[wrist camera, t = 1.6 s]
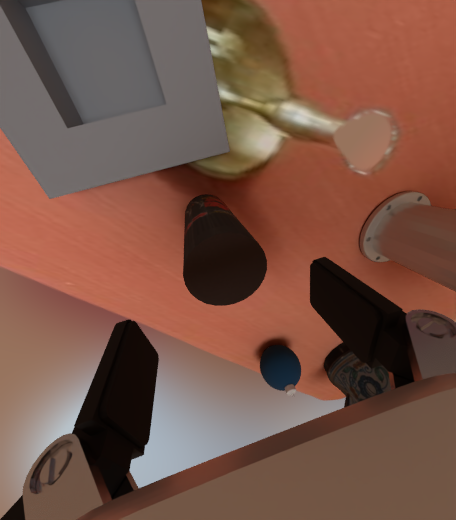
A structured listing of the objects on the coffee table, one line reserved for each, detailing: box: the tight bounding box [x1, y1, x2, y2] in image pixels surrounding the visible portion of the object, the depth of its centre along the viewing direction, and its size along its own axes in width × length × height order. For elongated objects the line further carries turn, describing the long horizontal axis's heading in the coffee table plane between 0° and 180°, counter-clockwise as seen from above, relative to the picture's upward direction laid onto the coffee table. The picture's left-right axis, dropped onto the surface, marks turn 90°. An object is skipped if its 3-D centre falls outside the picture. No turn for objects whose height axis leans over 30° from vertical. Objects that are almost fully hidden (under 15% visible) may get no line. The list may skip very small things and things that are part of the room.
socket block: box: [0, 0, 230, 199], centre depth 16 cm, size 18×18×4 cm
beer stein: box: [324, 343, 391, 408], centre depth 41 cm, size 16×19×25 cm
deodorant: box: [183, 194, 267, 305], centre depth 20 cm, size 6×6×15 cm
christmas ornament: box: [260, 345, 301, 395], centre depth 39 cm, size 8×8×10 cm
